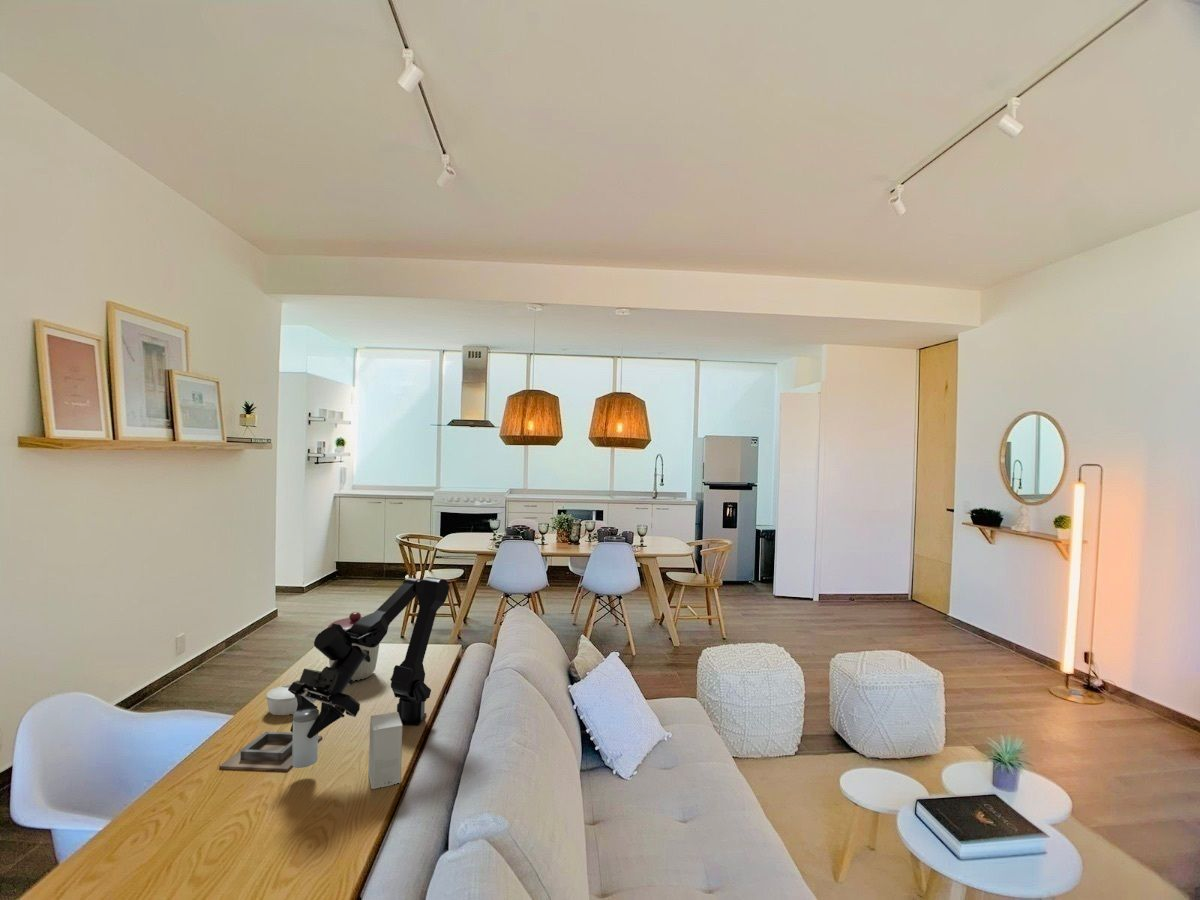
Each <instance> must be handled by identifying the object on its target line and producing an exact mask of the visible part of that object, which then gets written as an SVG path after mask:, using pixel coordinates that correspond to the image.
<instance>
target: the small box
mask: <svg viewBox="0 0 1200 900" xmlns="http://www.w3.org/2000/svg"><path fill="white" fill-rule="evenodd" d="M369 723H370V724H369V726H370V727H369V745H368V746H369V750H368V770H367V772H368V779H369V783H370V789H371V790H376V789H381V788H384V787H390V786H394V784H395V785H398V784H397V783H399V784H401V783H402V755H403V754H402V753H403V727H404V725H402V722H401V719H400V716H399V713H398V712H397V711H395V712H388V713H382V714H374V715H370V722H369ZM380 787H381V788H380Z"/></svg>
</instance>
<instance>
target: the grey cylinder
mask: <svg viewBox="0 0 1200 900" xmlns="http://www.w3.org/2000/svg"><path fill="white" fill-rule="evenodd" d="M319 714H320V710H319V709H318V708H317V709H316V708H305V709H301V710H298V711H296V712H295V713H294V714H292V715H293V717H292V718H293V719H292V723H293V741H292V766H293V767H292V768H299V769H301V768H307V767H311V766H312V765H314V764H315V763H317V762H318V759H319V757H318V752H319V750H318V749H319V742H318V736H319V733H318V734H316V735H315V736H313V737H312V738H311V739H310V738H308V737H307V735H308V733H309V731H310V729H311V727H312V725H313V724H314V722H315V720H316V719H317V717H318V715H319Z"/></svg>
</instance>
